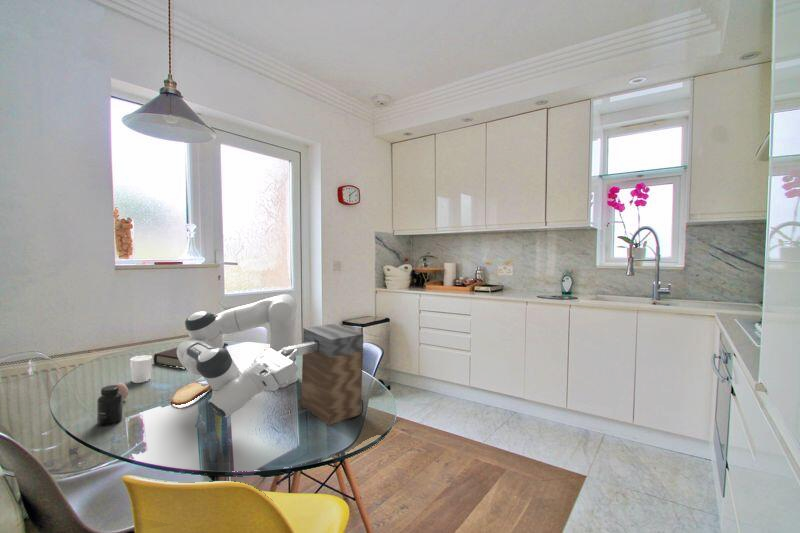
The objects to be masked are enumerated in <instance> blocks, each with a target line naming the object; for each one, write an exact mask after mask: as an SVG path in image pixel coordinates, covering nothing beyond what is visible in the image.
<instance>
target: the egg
mask: <svg viewBox="0 0 800 533" xmlns="http://www.w3.org/2000/svg"><path fill="white" fill-rule="evenodd" d="M114 385H118V386H119V392H118V393H121V394H122V396H123V401H124V400H125V399H126V398H127V397H128V394H129V388H128V386H127V385H126V384H125V383H124V382H117V383H115V384H114Z"/></svg>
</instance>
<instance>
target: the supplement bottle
mask: <svg viewBox="0 0 800 533" xmlns="http://www.w3.org/2000/svg"><path fill="white" fill-rule="evenodd" d="M100 389H101V390H100V396H99V397H98V398H97V401H96V403H97V404H96V423H97V425H98V426H100V425H101V426H100V427H108V426H113V425H115V423H116V424H117V423H120V422H121V421H122V420H123V409H124V408H123V402H124V400H123V396H122V394H121V393H118V392H119V386H118V385H115V384H111V385H107V386H104V387H102V388H100ZM112 424H113V425H112ZM107 425H108V426H107Z"/></svg>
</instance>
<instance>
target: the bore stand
mask: <svg viewBox="0 0 800 533" xmlns="http://www.w3.org/2000/svg"><path fill="white" fill-rule="evenodd" d="M302 330H303V331H302V333H303V335H302V336H303V337H302V344H303V343H307V342H312V341H316V340H317V341H319V351H316V352H312V353H308V354H303V355H302V370H301V371H302V373H301V376H302V377H301V406H302V405H303V406H304V407H305V408H304V407H303V406H302V407H303V408H304V409H306V408H307V409H308V410H309V411H308V410H307V409H306V410H307V411H308V412H310V411H311V412H312V413H313V414H312V413H311V412H310V413H311V414H312V415H314V416H315V417H317V418H318V420H320V421H322V422H323V423H324V422H325V423H324V424H325V425H327V424H328V425H329V426H331V425H330V424H332V425H334V423H335V424H337V422H338V423H340V422H343V421H345V420H348V419H351V418H353V417H357V416H359V415H361V414H362V411H361V410H362V388H363V386H362V385H363V383H362V382H363V364H364V363H363V358H364V356H363V355H364V333H361V332H359V331H356V330H354V329H350V328H347V327H345V326H343V325H339V324H336V323H331V324H323V325H316V326H310V327H303V329H302ZM328 425H327V426H328Z"/></svg>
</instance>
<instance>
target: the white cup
mask: <svg viewBox="0 0 800 533" xmlns="http://www.w3.org/2000/svg"><path fill="white" fill-rule="evenodd" d="M129 361H130V363H129V364H130V376H131V382H132V383H136V384H139V383H145V381H146V382H148V381H150V380H151V379H150V378H151V377H152V376H151V375H152V370H153V369H152V366H153V356H152V355H151V354H149V355H147V354H143V355H136V356H133V357H131V358H130V359H129ZM149 379H150V380H149Z"/></svg>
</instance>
